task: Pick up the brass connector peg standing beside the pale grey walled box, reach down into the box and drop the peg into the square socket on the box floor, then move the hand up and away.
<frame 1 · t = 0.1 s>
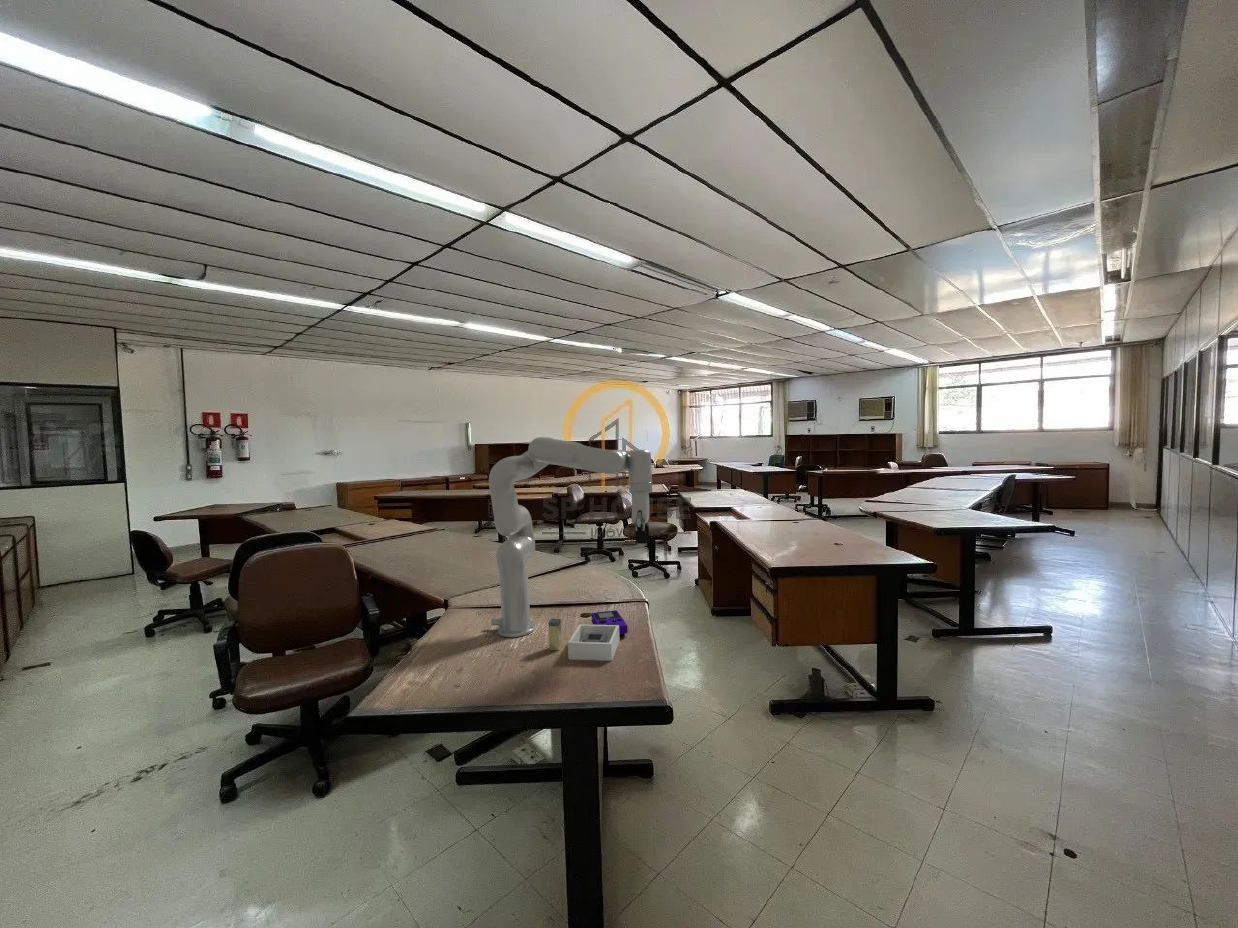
hand: (642, 539, 154), 31 cm above the table, tool pointing down, fingers open, 9 cm apart
handheld gaming console: (609, 631, 159), on the table, touching box
box: (595, 649, 145), on the table
peg: (555, 648, 147), on the table
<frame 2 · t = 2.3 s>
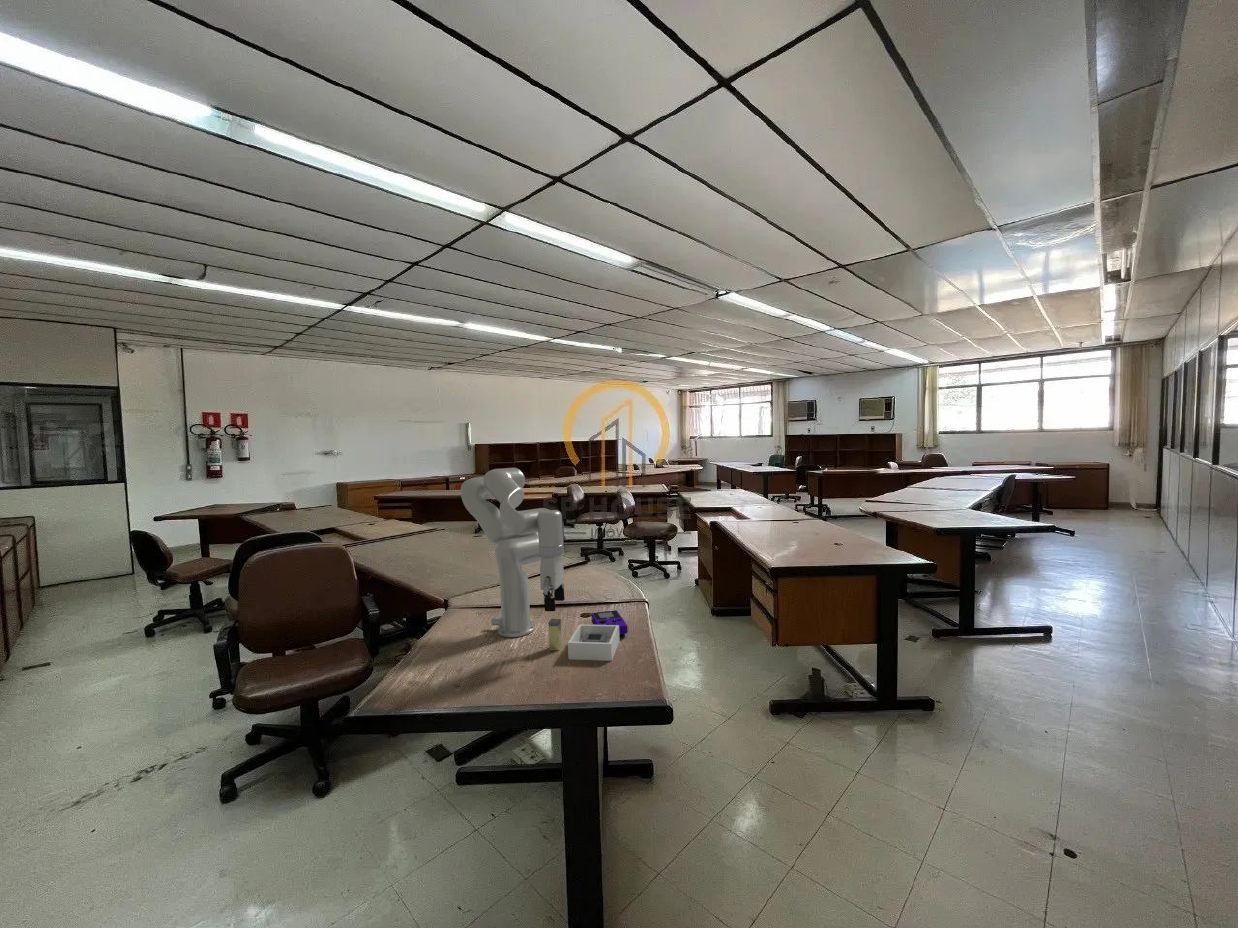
hand: (555, 605, 146), 14 cm above the table, tool pointing down, fingers open, 9 cm apart
nothing on the table moved.
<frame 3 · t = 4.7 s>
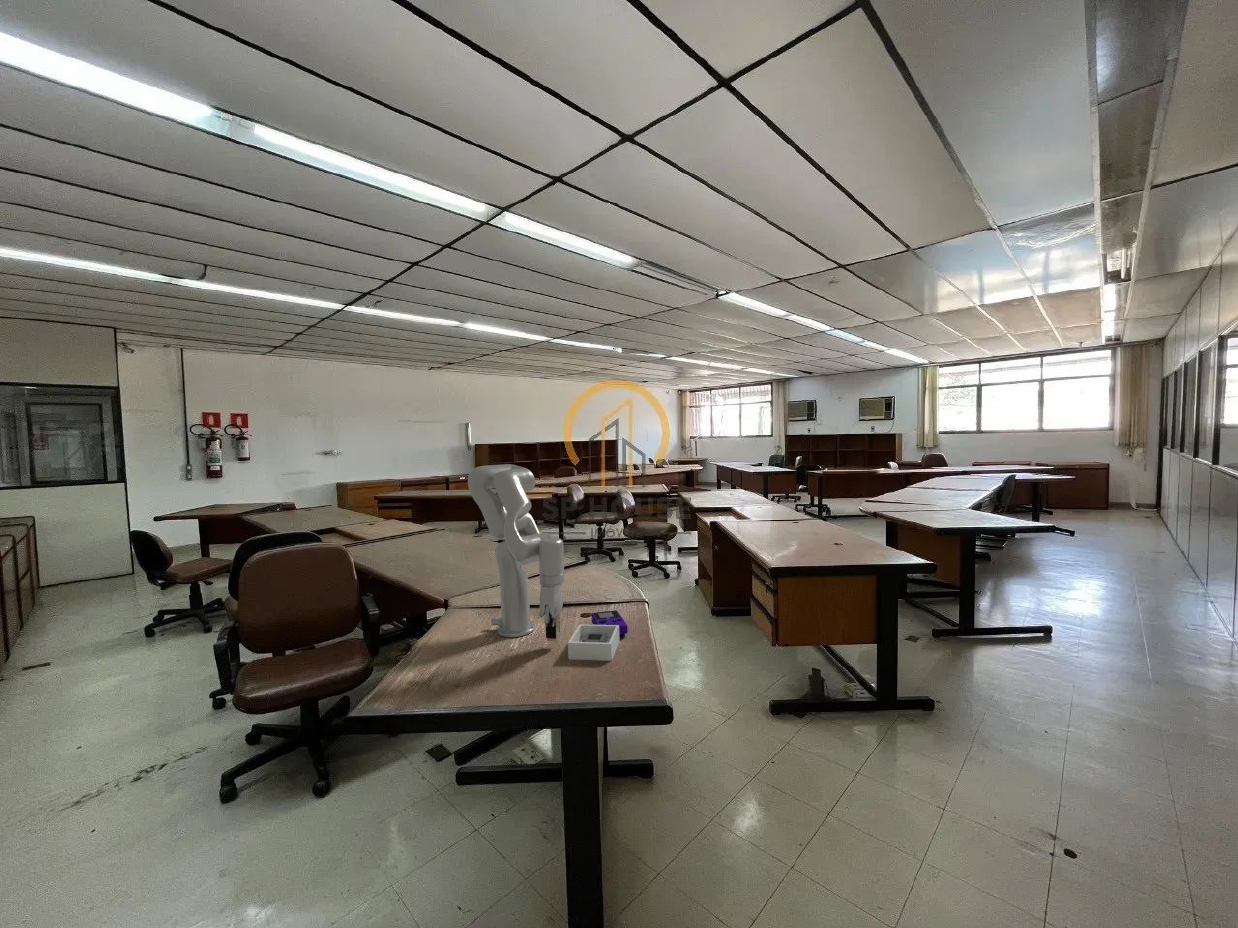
hand: (552, 634, 147), 4 cm above the table, tool pointing down, fingers closed on peg, 3 cm apart
peg: (553, 638, 148), point 3 cm above the table, touching gripper
everything else where it was.
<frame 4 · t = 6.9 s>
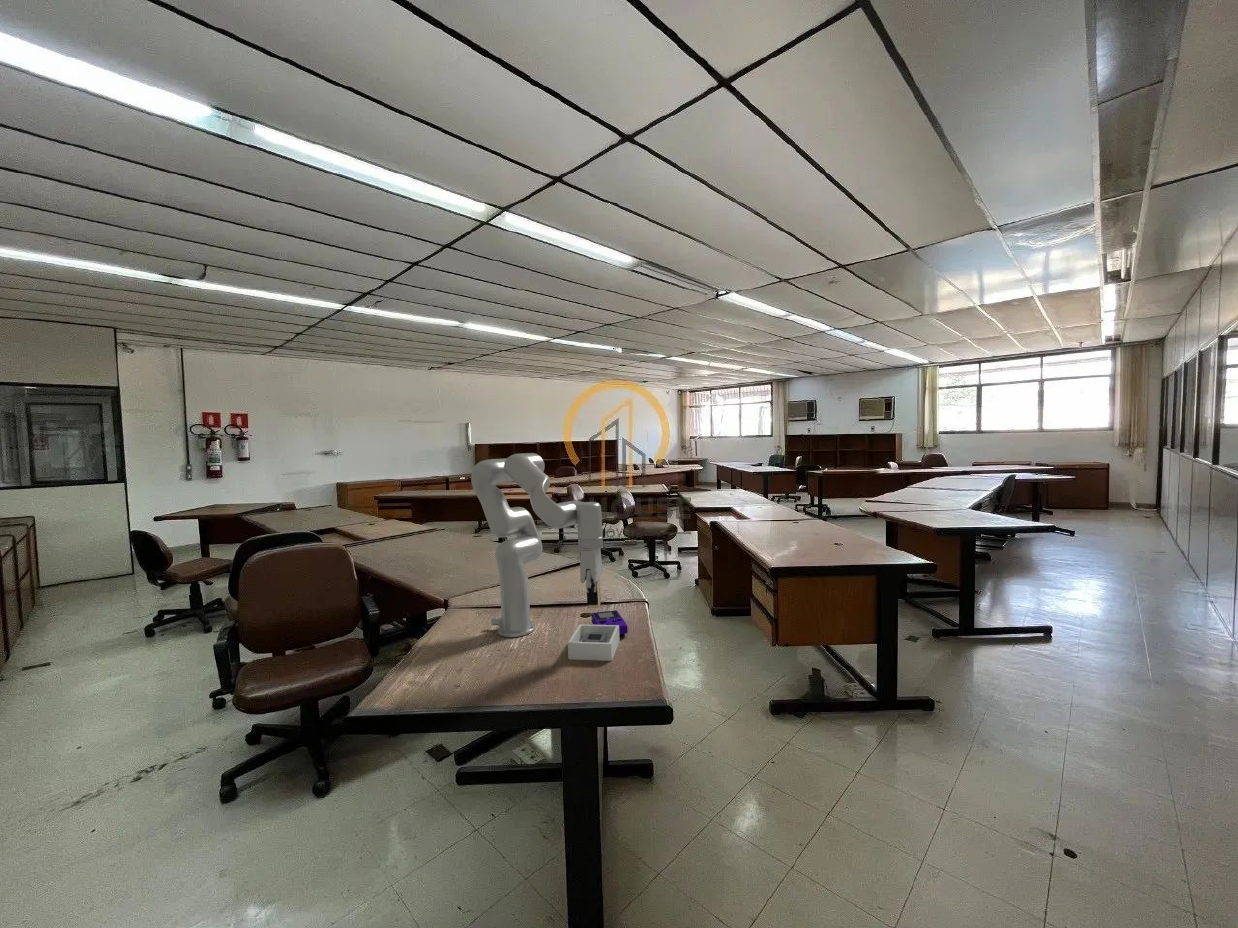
hand: (594, 602, 144), 15 cm above the table, tool pointing down, fingers closed on peg, 3 cm apart
peg: (594, 605, 144), point 14 cm above the table, touching gripper
everything else where it was.
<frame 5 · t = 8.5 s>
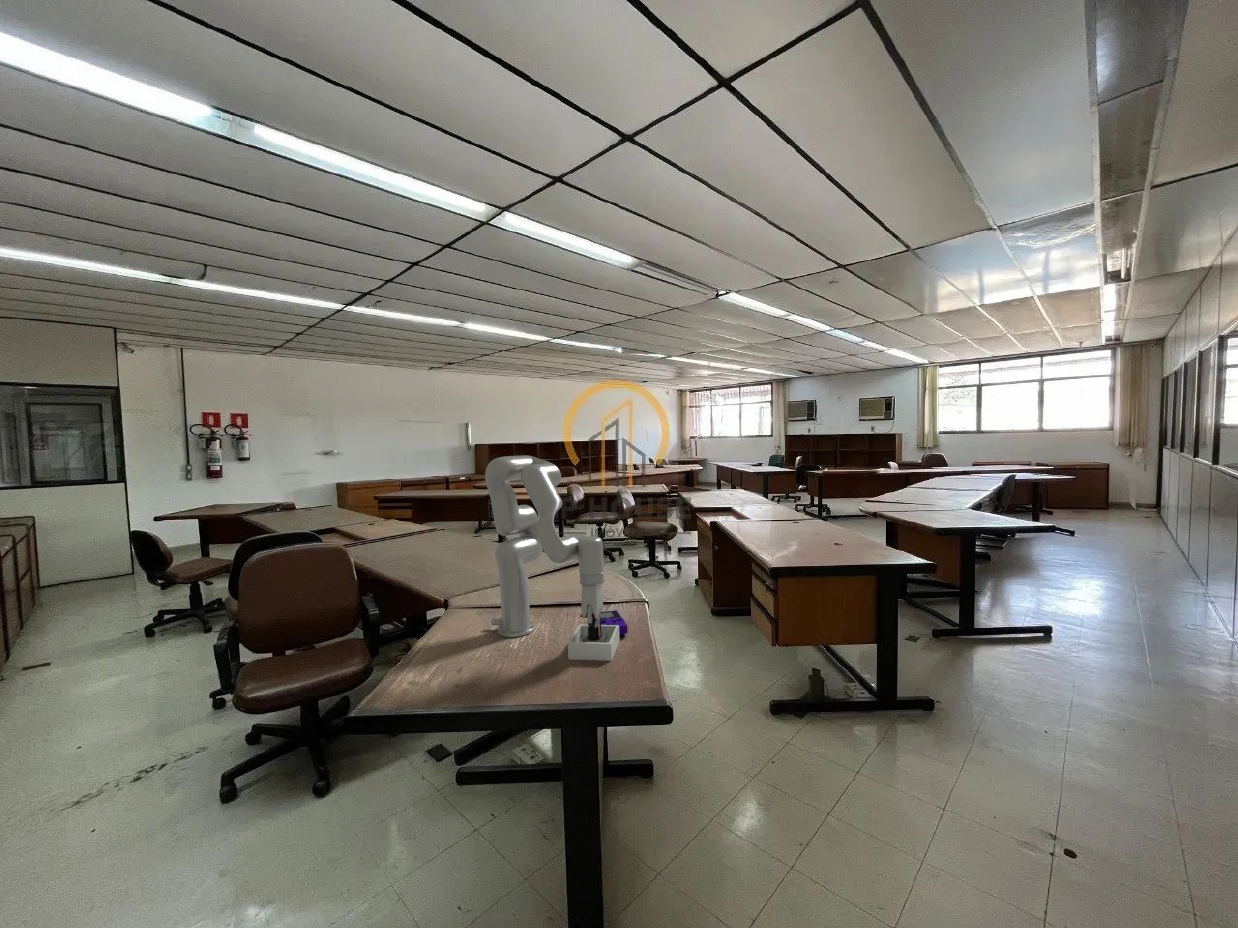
hand: (595, 636, 144), 4 cm above the table, tool pointing down, fingers closed on peg, 2 cm apart
peg: (595, 640, 144), point 3 cm above the table, touching gripper
everything else where it was.
when the fingers open (4 cm above the table, at t = 9.8 s): peg stays where it is, resting on box.
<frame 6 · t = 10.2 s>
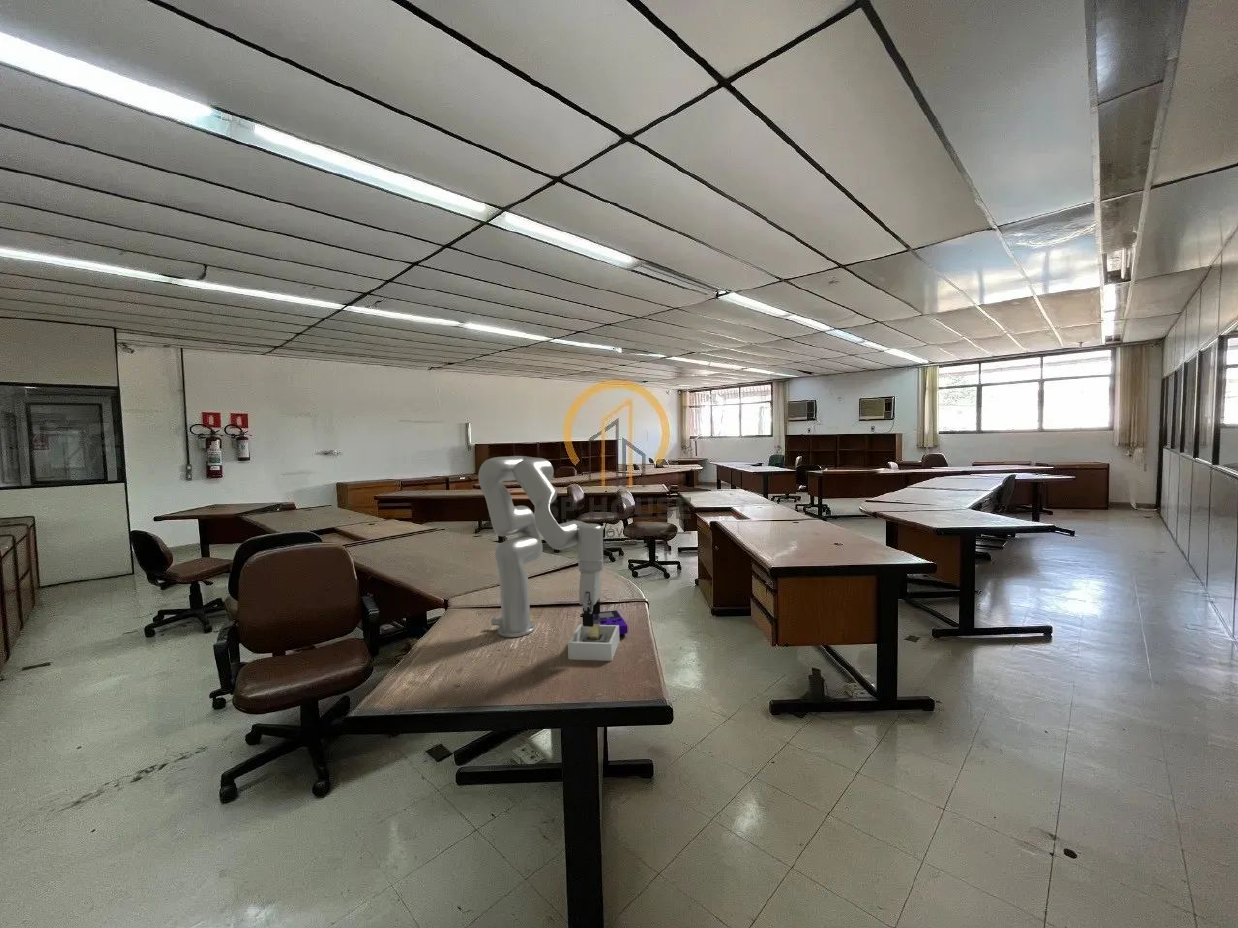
hand: (591, 619, 145), 9 cm above the table, tool pointing down, fingers open, 9 cm apart
peg: (595, 646, 145), point 1 cm above the table, touching box
everything else where it was.
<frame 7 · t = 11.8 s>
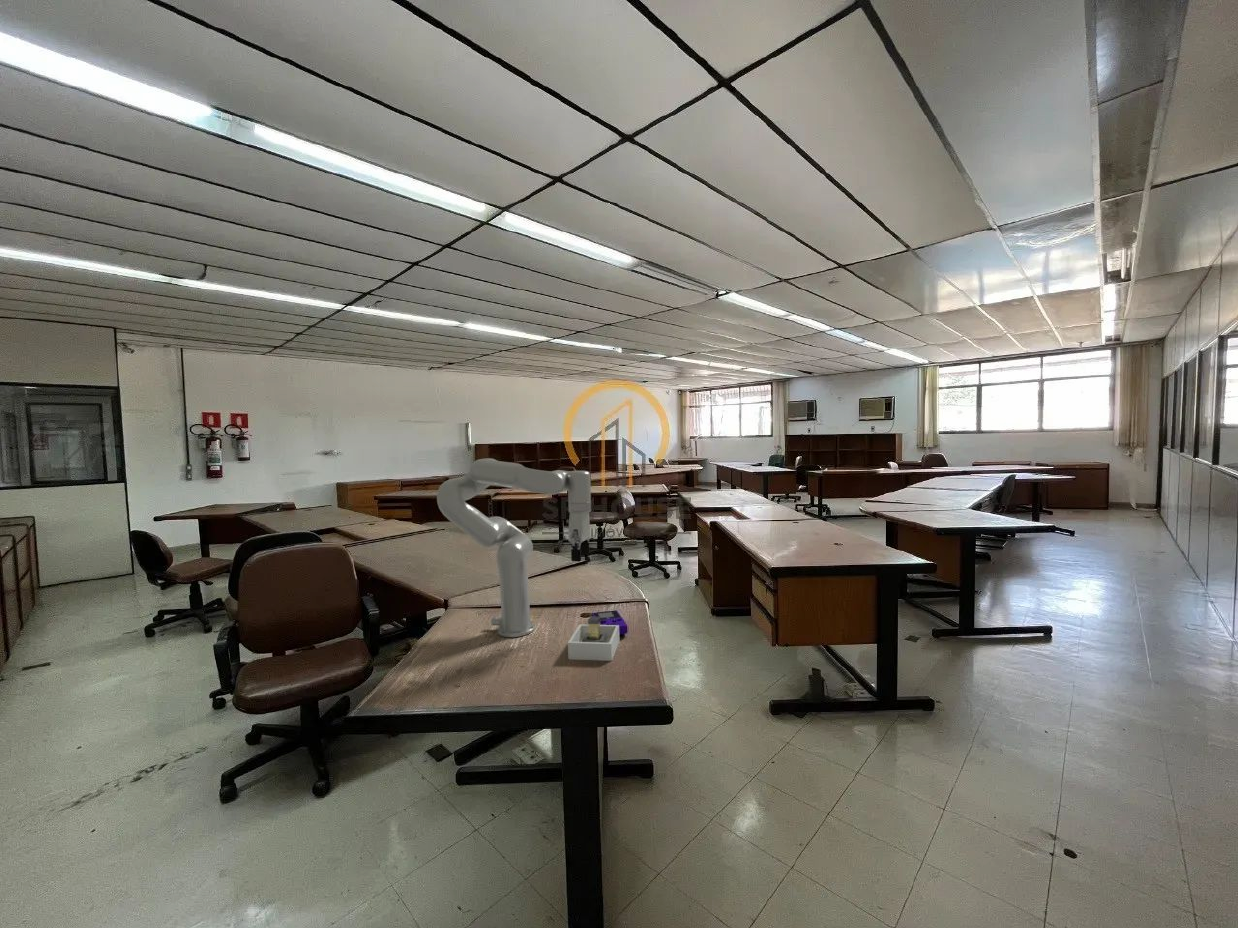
hand: (580, 557, 160), 25 cm above the table, tool pointing down, fingers open, 9 cm apart
nothing on the table moved.
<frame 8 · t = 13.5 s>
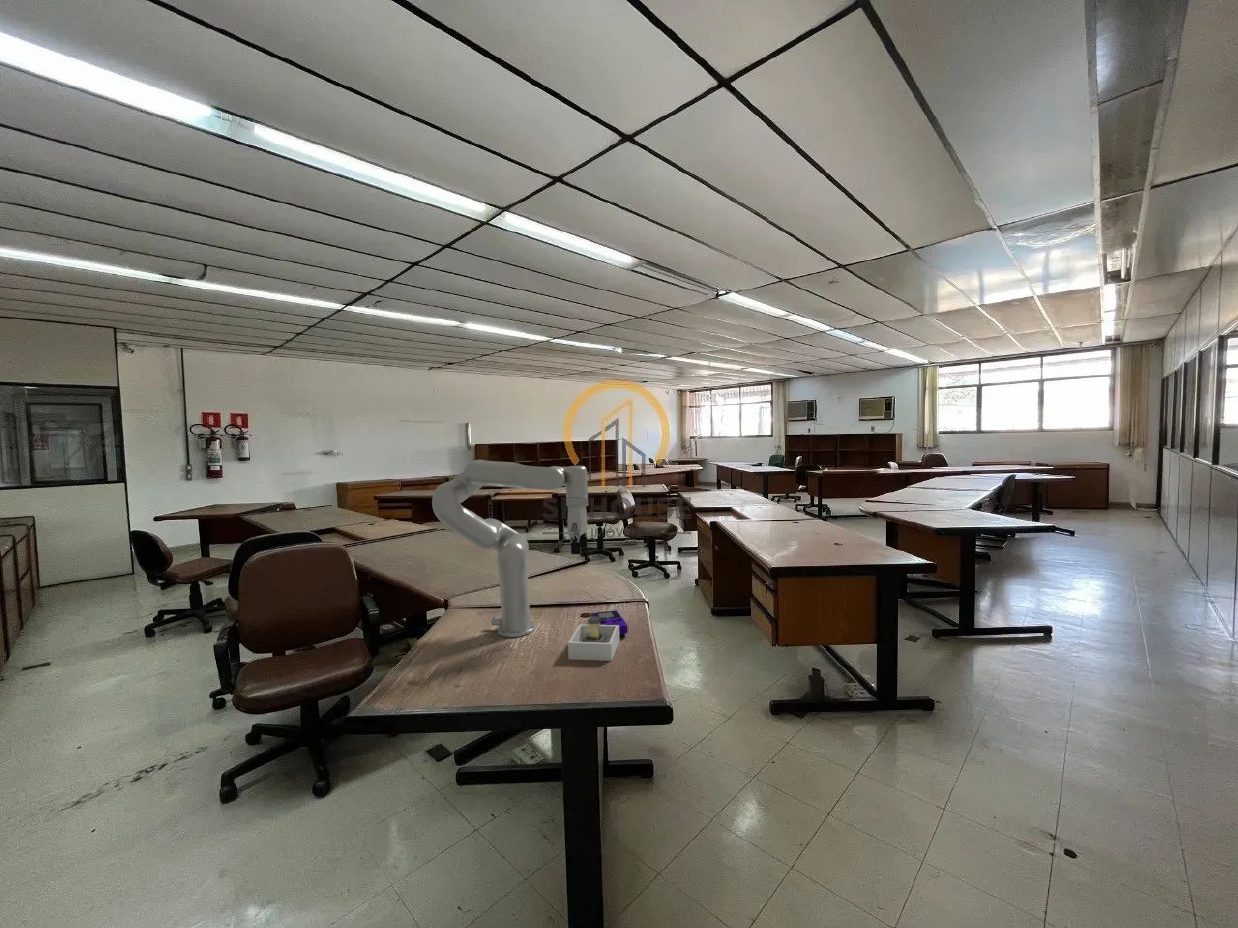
hand: (579, 550, 164), 26 cm above the table, tool pointing down, fingers open, 9 cm apart
nothing on the table moved.
at the end: peg 0.1 cm off-centre on the box, point 1.0 cm above the box's base; peg tilted 0°; the gripper is holding nothing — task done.
